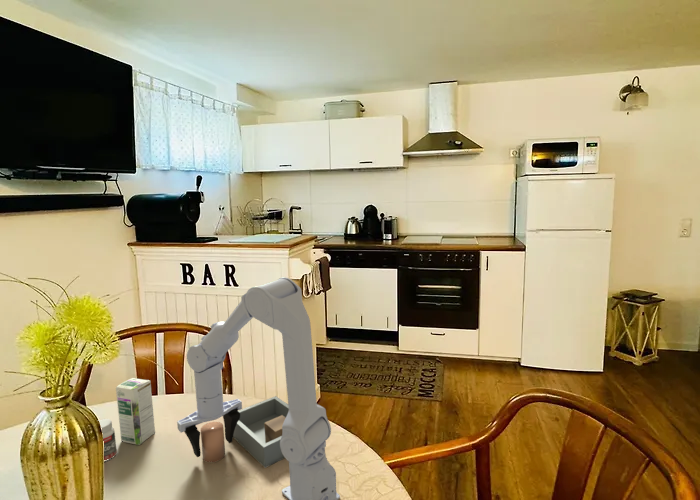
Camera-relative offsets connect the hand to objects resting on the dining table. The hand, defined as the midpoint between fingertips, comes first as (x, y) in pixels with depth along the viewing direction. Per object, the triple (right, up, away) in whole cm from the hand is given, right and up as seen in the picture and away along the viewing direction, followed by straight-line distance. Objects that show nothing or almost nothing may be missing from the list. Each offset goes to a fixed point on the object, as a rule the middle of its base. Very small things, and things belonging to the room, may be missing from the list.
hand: (213, 447), depth 99 cm
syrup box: (-21, -1, +8) cm, 23 cm away
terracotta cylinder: (0, -2, 0) cm, 2 cm away
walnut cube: (+15, 0, +4) cm, 15 cm away
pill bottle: (-25, -3, +1) cm, 26 cm away
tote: (+12, -1, +7) cm, 14 cm away
